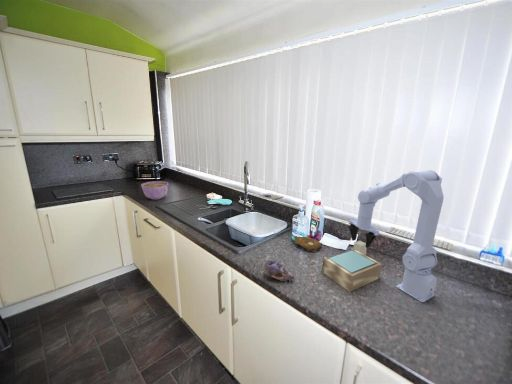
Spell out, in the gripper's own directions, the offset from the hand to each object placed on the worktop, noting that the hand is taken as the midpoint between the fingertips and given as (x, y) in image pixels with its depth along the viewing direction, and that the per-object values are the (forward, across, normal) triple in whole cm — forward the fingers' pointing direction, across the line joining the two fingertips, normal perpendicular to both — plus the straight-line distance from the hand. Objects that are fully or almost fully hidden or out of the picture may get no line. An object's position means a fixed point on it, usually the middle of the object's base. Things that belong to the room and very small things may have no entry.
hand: (360, 243), depth 112 cm
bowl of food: (+6, +132, +72) cm, 150 cm away
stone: (+5, 0, 0) cm, 5 cm away
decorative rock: (+6, +18, +17) cm, 26 cm away
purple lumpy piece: (+6, +2, +45) cm, 45 cm away
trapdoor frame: (+5, -10, +18) cm, 21 cm away
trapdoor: (0, -10, +18) cm, 20 cm away
